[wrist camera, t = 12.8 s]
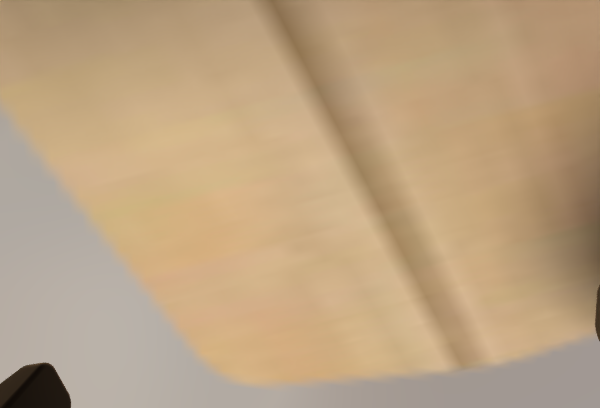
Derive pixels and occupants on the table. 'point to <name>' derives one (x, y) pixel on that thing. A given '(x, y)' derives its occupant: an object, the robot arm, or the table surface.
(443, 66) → the table surface
